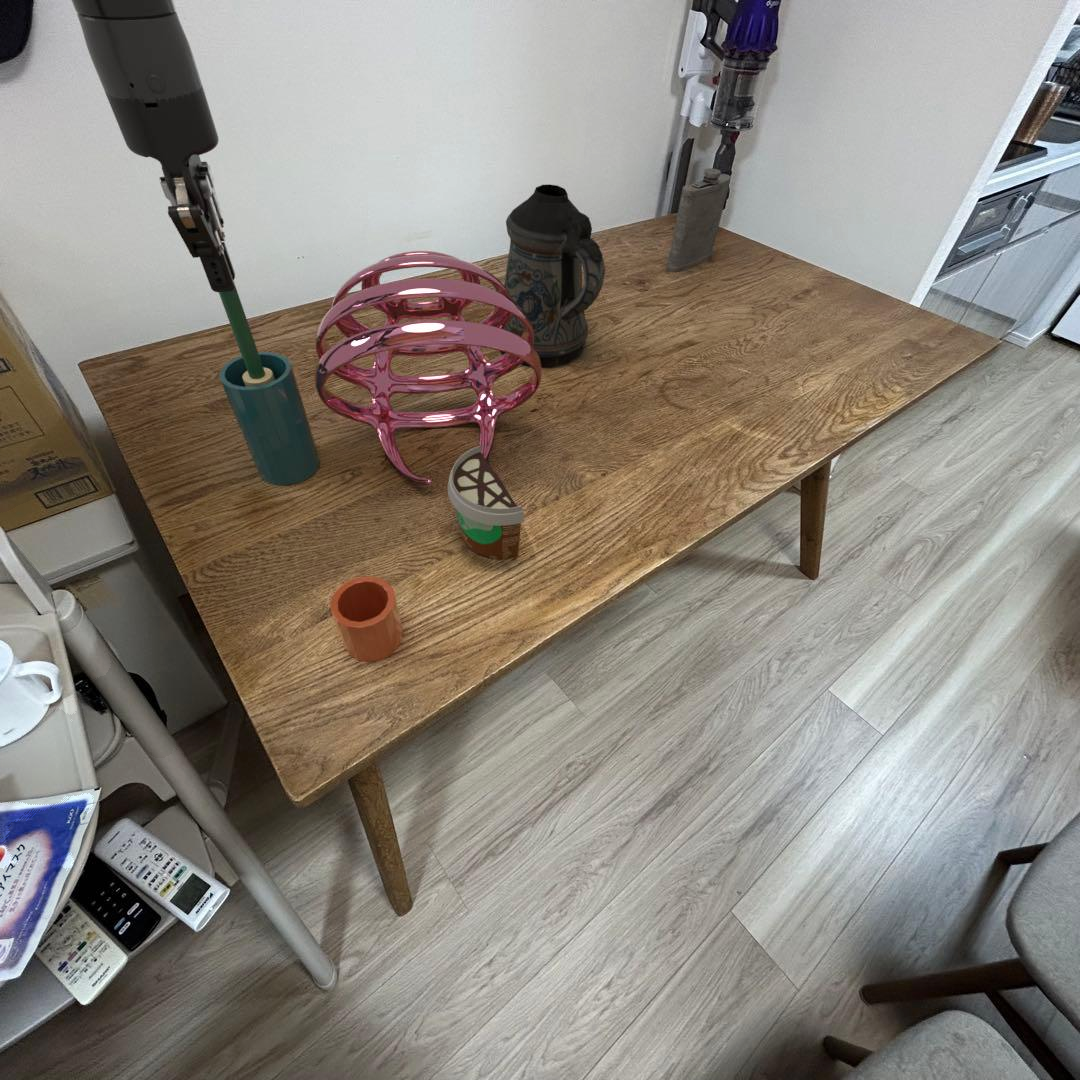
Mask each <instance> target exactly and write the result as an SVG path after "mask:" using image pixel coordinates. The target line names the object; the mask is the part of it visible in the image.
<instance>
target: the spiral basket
mask: <svg viewBox="0 0 1080 1080" xmlns="http://www.w3.org/2000/svg"><path fill="white" fill-rule="evenodd" d="M411 268H440V269H441V268H442V269H450V270H455V271H458V272H459V275H460V277H461V279H449V278H437V277H436V278H435V277H434V278H430V277H428V278H427V277H426V278H410V279H401V280H394V281H390V282H385V283H381V282H380V278H381V276H382V274H384V273H388V272H392V271H398V270H403V269H404V270H405V269H411ZM480 278H481V279H483V280H485V281H487V282H488V283H489V284H491V285H492V287H494V288H491V287H488V286H485V285H482V284H481V280H480ZM360 283H361V284H360ZM358 284H360V285H361V290H359V291H356V292H354V293H352V294H350V295H348V294H349V292H350V291H351V290H352V289H353V288H355V286H357V285H358ZM425 298H430V299H431V298H438V299H436V300H432V301H420V302H419V301H409V300H411V299H425ZM473 302H475V303H476V302H477V303H481V304H485V305H489V306H491V307H494V309H493V311H492V312H491V313H490V314H489V315H488V316H487V317H486V318H484V319H483V320H482V321H481V322H473V321H467V320H466V318H465V317H464V314H463V310H464V309H466V308H467V307H469V306H470V305H471V304H472V303H473ZM370 307H373V308H375V309H376V310H378V311H380V312H382V313H384V314H385V315H386V320H385V323H384V325H383V326H379V327H374V328H370V327H368V326H366V325H364V324H363V323H361V322H359V321H358V320H357V319H356V318H355V317H354V316H353V314H355V313H357V312H359V311H362V310H365V309H368V308H370ZM512 315H513V316H515V317H516V318H517V319H519V320H520V321H521V322H522V323H523V325H524V330H523V334H522V336H521V337H520V336H518V335H516V334H514V333H512V332H509V331H507V330H504V329H503V328H504V327H505V326H506V325H507V324H508V322H509V320H510V318H511V316H512ZM443 317H446V318H447V317H448V318H449V319H438V318H443ZM403 319H409V320H412V321H404V322H401V320H403ZM450 319H451V320H450ZM413 320H414V321H413ZM334 326H336V328H337V329H338V331H339V332H340V333H342V334H343V336H344V337H346V338H344V339H343V340H341V341H339V342H338V343H336V344H335V345H333V346H332V347H330V346H329V344H328V342H327V339H326V335H327V333H328V332H329V331H330V329H332V327H334ZM315 335H316V336H315V344H314V345H315V352H316V355H317V358H318V362H317V364H316V367H315V370H314V385H315V390H316V393H317V395H318V397H319V399H320V401H321V402H322V403H323V404H324V405H325V406H326V407H327V408H328V409H329V410H330V411H332V412H333V413H334V414H337V415H339V416H341V417H343V418H346V419H348V420H351V421H354V422H357V423H361V424H364V425H367V426H370V427H372V428H373V429H374V431H375V432H376V435H377V436H378V438H379V441H380V444H381V446H382V449H383V451H384V453H385V455H386V456H387V458H388V460H389V461H390V463H391V464H392V466H393V467H394V468H395V469H396V470H397V471H398V472H399V473H400V474H401V475H402V476H403V477H405V478H407V480H410V481H412V482H413V483H416V484H419V485H424V486H428V485H431V484H432V480H431V479H430V478H427V477H423V476H420V475H418V474H416V473H415V472H413V471H412V470H411V469H410V468H409V466H408V465H407V463H406V462H405V460H404V458H403V456H402V454H401V451H400V449H399V447H398V444H397V441H396V437H395V431H397V430H400V429H401V430H402V429H408V430H409V429H412V430H414V429H420V430H421V429H437V428H439V429H440V428H449V427H455V426H456V427H457V426H461V425H467V424H477V425H478V427H479V439H478V446H480V445H481V450H482V455H483V456H484V458H485V459H486V460H487V459H488V456H489V454H490V452H491V449H492V445H493V441H494V436H495V429H496V423H497V421H498V419H499V417H501V416H503V414H505V413H507V412H510V411H512V410H513V409H516V408H518V407H520V406H521V405H522V404H524V403H525V402H527V401H528V400H530V399H531V398H532V397H533V396H534V395H535V394H536V392H537V391H538V389H539V387H540V385H541V381H542V376H543V368H542V366H541V360H540V357H539V355H538V353H537V351H536V350H535V348H534V347H533V345H534V331H533V328H532V325H531V322H530V320H529V318H528V316H527V315H526V313H525V312H524V310H523V309H522V308H521V307H520V306H519V305H518V304H517V303H516V302H515V301H514V300H512V298H511V296H510V294H509V292H508V290H507V289H506V287H505V286H504V283H503V282H501V280H499V279H498V278H497V277H496V276H495V275H493V274H492V273H491V272H489V271H488V270H486V269H484V268H482V267H481V266H479V265H477V264H474V263H472V262H469V261H466V260H463V259H460V258H458V257H456V256H453V255H450V254H447V253H443V252H439V251H433V250H432V251H431V250H413V251H412V250H411V251H405V252H399V253H396V254H391V255H390V256H387V257H385V258H383V259H380V260H379V261H377V262H376V263H372V264H371V265H368V266H366V267H363V268H362V269H361V270H359V271H357V272H356V273H354V274H353V275H352V276H350V277H349V278H348V279H346V280H345V282H344V283H343V284H342V285H341V286H340V288H339V289H338V290H337V292H336V294H335V296H334V297H333V300H332V304H331V308H330V309H329V310H328V311H327V312H326V314H325V315H324V316H323V317H322V319H321V321H320V323H319V325H318V328H317V332H316V334H315ZM482 348H485V349H491V350H495V351H498V352H500V351H502V352H505V353H506V354H504V355H501V356H499V357H498V358H496V359H493V360H487V359H486V357H485V356H484V354H483V351H482ZM454 353H464V354H465V355H466V357H467V360H468V366H467V368H466V369H464V370H461V371H456V372H450V373H443V374H432V375H401V374H396V373H394V372H393V371H392V369H391V362H392V360H393V359H394V357H397V356H407V357H431V356H433V357H435V356H442V355H448V354H454ZM371 355H374V362H373V365H372V367H370V368H364V367H362V366H358V365H356V364H354V363H353V362H355V361H358V360H360V359H362V358H365V357H368V356H371ZM524 361H525V362H526V363H528V364H529V365H530V366H531V367H530V368H532V370H533V373H532V375H530V376H529V378H528V379H527V380H526V381H525V382H524V383H523V384H522V385H520V386H519V387H517V388H516V389H514V390H512V391H511V392H509V393H507V394H505V395H503V396H496V394H495V393H494V383H496V381H497V380H498V379H499V378H501V377H503V376H506V375H508V374H509V373H511V372H512V371H514V370H515V369H517V368H518V367H519V366H521V364H522V363H523V362H524ZM332 375H334V376H335V377H338V378H339V379H341V380H342V381H345V382H348V383H350V384H352V385H356V386H359V387H362V388H364V389H366V390H367V391H369V393H370V396H371V404H370V405H369V406H364V405H359V404H357V403H353V402H350V401H348V400H346V399H343V398H341V397H339V396H338V395H336V394H335V393H333V392H331V391H330V390H329V389H328V388H327V387H326V385H325V384H326V382H327V381H328V379H329V378H330V377H331V376H332ZM466 389H470V390H473V391H475V393H476V401H475V403H473V404H472V405H469V406H467V407H462V408H461V407H460V408H457V409H456V408H455V409H449V410H448V409H447V410H440V411H438V410H437V411H420V412H419V411H416V412H415V411H413V412H412V411H410V412H409V411H398V410H395V409H394V408H393V407H392V406H391V402H390V401H391V397H392V396H393V395H395V394H408V395H410V394H411V395H412V394H414V395H417V394H418V395H421V394H422V395H423V394H439V393H440V394H441V393H448V392H454V391H461V390H466Z"/></svg>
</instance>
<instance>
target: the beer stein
mask: <svg viewBox="0 0 1080 1080" xmlns="http://www.w3.org/2000/svg"><path fill="white" fill-rule="evenodd" d="M568 195H569V194H568V192H567V190H566V188H564V187H562V186H560V185H557V184H556V185H555V184H541V185H539V186H536V187H535V188H534V191H533V193H532V194H531V195H530V196H529V197H528V198H527V199H526V200H524V201H523V202H521V203H520V204H518V205H517V206H516V207H515V208H513V209H512V211H511V212H510V213H509V215H508V216H507V218H506V220H505V227H506V232H507V235H508V237H509V238H510V240H509V250H508V257H507V264H506V271H505V278H504V283H503V285H504V286H505V287H506V289H507V290H508V292H509V294H510V296H511V298H512V300H514V301H515V302H516V303H517V304H518V305H519V306H520V307H521V308H522V309H523V310H524V312H525V313H526V315H527V316H528V318H529V320H530V322H531V325H532V328H533V331H534V345H533V347H534V348H535V350H536V351H537V353H538V355H539V357H540V360H541V366H542V369H543V368H545V369H546V368H547V369H551V368H555V367H559V366H563V365H568V364H569V363H571V362H573V361H575V360H576V359H578V358H579V356H580V355H581V354H582V352H583V350H584V347H585V344H586V342H587V338H588V335H589V325H588V322H587V318H586V314H585V311H586V310H588V308H590V307H591V306H592V304H593V303H594V302H595V301H596V300H597V299H598V297H599V295H600V293H601V290H602V288H603V286H604V281H605V276H606V266H605V260H604V257H603V253H602V251H601V249H600V245H599V244H598V243H597V242H596V241H595V240H594V239H592V238H591V236H592V232H593V227H592V222H591V220H590V217H589V216H588V215H587V214H585V213H583V212H580V211H579V209H578V207H576V206H575V205H574V203H573V202H572V201H571V200H570V199H569V196H568ZM583 274H584V275H583ZM583 276H584V280H583ZM503 329H504V330H507V331H509V332H512V333H514V334H516V335H518V336H520V337H521V336H522V334H523V330H524V325H523V323H522V322H521V321H520V320H519V319H517V318H516V317H515V316H513V315H512V316H511V318H510V320H509V322H508V324H507V325H506V326H505V327H504V328H503ZM499 353H500V354H501V356H503V355H504V354H506V353H505V352H502V351H499ZM520 366H525V367H530V368H532V367H531V366H530V365H529V364H528V363H526V362H525V361H524V362H523V363H522V364H520Z"/></svg>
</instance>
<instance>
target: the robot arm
mask: <svg viewBox="0 0 1080 1080" xmlns="http://www.w3.org/2000/svg"><path fill="white" fill-rule="evenodd" d="M71 2H72V5H73V7H74V10H75V12H76V16H77V18H78V21H79V24H80V27H81V30H82V34H83V38H84V42H85V45H86V48H87V51H88V53H89V56H90V59H91V61H92V64H93V66H94V69H95V71H96V73H97V76H98V78H99V81H100V83H101V87H102V89H103V90H104V93H105V96H106V98H107V101H108V103H109V105H110V108H111V110H112V113H113V115H114V117H115V121H116V123H117V125H118V127H119V130H120V132H121V135H122V137H123V140H124V142H125V144H126V146H127V148H128V149H129V151H131V152H132V153H133V154H135V155H137V156H140V157H143V158H152V159H154V160H156V161H158V162H159V163H160V165H161V170H162V174H163V176H159V183H160V186H161V188H162V191H163V194H164V196H165V198H166V199H167V200H168V201H169V202H170V205H168V206H167V213H168V217H169V218H170V219H171V221H172V223H173V225H174V227H175V229H176V230H177V232H178V234H179V235H180V237H181V239H182V241H183V243H184V244H185V246H186V249H187V250H188V252H189V254H190V255H191V257H192V258H193V259H196V258H199V259H200V262H201V265H202V268H203V270H204V273H205V277H206V278H207V281H208V284H209V286H210V289H211V290H212V291H213V292H215V293H219V292H226V291H232V290H233V289H234V283H235V281H234V280H235V278H236V272H235V269H234V266H233V264H232V260H231V257H230V254H229V251H228V248H227V245H226V243H225V242H226V233H225V231H224V230H223V228H224V226H225V225H224V224H225V221H224V218H223V216H222V208H221V205H220V203H219V200H218V196H217V193H216V189H215V186H214V176H213V174H212V170H211V167H210V165H209V163H208V162H207V161H201V160H202V159H201V158H200V155H205V154H206V153H209V152H211V151H212V150H214V149H215V148H216V147H217V146H218V145H219V135H218V132H217V129H216V125H215V123H214V119H213V114H212V113H211V109H210V105H209V102H208V99H207V96H206V92H205V90H204V86H203V83H202V79H201V76H200V74H199V70H198V67H197V64H196V60H195V57H194V53H193V51H192V48H191V45H190V43H189V40H188V38H187V34H186V33H185V30H184V28H183V25H182V23H181V21H180V18H179V16H178V15H179V14H178V12H177V11H176V5H175V3H174V0H71ZM200 241H206V242H200ZM223 251H224V252H223ZM224 254H225V255H224ZM225 257H226V258H225ZM226 260H227V261H226ZM227 263H228V264H227ZM228 266H229V267H228ZM229 269H230V270H229ZM230 272H231V273H230ZM231 275H232V276H231Z"/></svg>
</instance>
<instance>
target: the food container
mask: <svg viewBox="0 0 1080 1080" xmlns="http://www.w3.org/2000/svg"><path fill="white" fill-rule="evenodd" d="M448 477H449V478H448V483H447V496H448V499H449V501H450V503H451V505H452V506H453V507H454V509H455V510H456V513H457V517H458V523H459V528H460V534H461V539H462V541H463V544H464V545H465V546H466V547H467V548H468V549H469V550H470V551H471V552H472V553H474V554H475V555H477V556H478V557H479V556H480V557H481V558H484V559H489V560H509V559H513V558H517V557H518V556H519V546H520V538H521V537H520V536H521V527H522V523H525V515H524V510H523V505H517V504H516V502H515V501H514V499H513V497H512V496H511V495H510V493H509V491H508V490H507V488H506V486H505V484H504V483H503V481H502V480H501V478H500V476H499V475H498V474H497V473H496V471H494V469H493V468H492V467H491V465H490V464H489V462H488V461H487V458H486V459H485V458H484V456H483V455H482V450H481V445H480V446H475V447H473V448H471V449H468V450H467V451H465V452H464V453H462V455H460V457H458V459H457V460H456V461H455V462H454V464H453V466H452V468H451V471H450V473H449V476H448Z"/></svg>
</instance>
